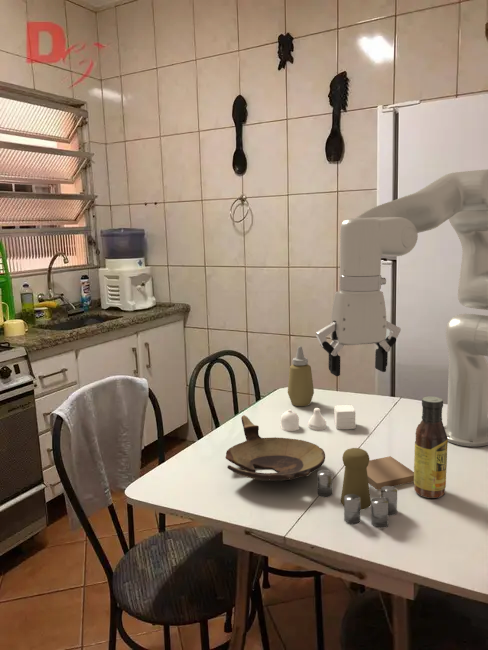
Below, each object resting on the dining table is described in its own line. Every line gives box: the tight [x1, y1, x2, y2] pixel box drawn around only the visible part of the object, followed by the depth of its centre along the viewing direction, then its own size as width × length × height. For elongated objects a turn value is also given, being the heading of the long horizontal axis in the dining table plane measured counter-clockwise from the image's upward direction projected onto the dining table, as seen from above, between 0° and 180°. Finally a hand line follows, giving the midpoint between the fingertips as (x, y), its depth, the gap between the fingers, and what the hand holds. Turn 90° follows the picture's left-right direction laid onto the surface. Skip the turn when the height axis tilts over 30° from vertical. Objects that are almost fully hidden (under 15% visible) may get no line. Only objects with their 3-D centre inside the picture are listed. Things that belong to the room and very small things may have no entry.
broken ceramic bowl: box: [225, 414, 326, 482], centre depth 124 cm, size 22×30×8 cm
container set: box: [280, 404, 356, 432], centre depth 148 cm, size 20×5×6 cm, turn 88°
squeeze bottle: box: [287, 346, 315, 407], centre depth 165 cm, size 8×8×18 cm
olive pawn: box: [340, 447, 372, 511], centre depth 107 cm, size 6×6×11 cm
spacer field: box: [317, 469, 398, 529], centre depth 107 cm, size 11×17×4 cm, turn 19°
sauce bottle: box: [413, 396, 449, 499], centre depth 109 cm, size 7×6×20 cm
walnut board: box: [367, 455, 414, 491], centre depth 119 cm, size 10×10×2 cm
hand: (358, 372), depth 105 cm, fingers open, 9 cm apart
